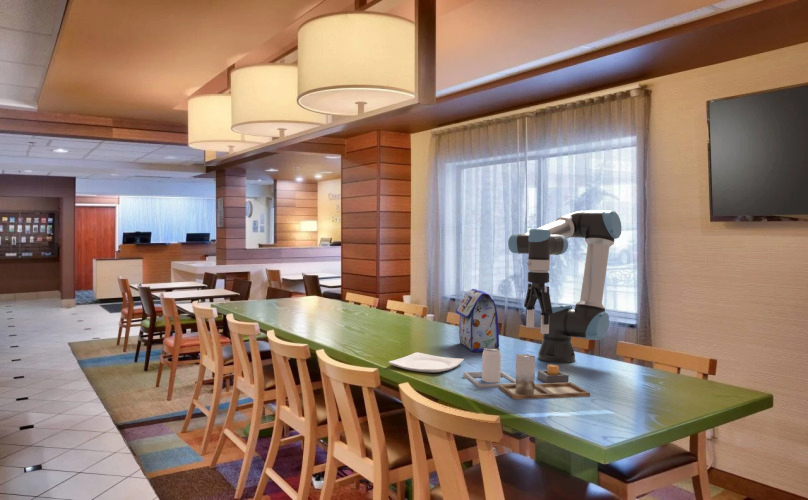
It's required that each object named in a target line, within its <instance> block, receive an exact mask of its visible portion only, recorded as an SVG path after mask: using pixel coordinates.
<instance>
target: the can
mask: <svg viewBox="0 0 808 500" xmlns="http://www.w3.org/2000/svg"><path fill="white" fill-rule="evenodd" d="M500 350H501V349H500V348H499V349H498V348H484V351H482V357H481V359H482V360H481V362H482V363H481V366H482V367H481V368H482V369H481V372H482V377H481V381H482V382H486V383H499V382H500V383H501V376H500V375H501V371H502V370H501V368H502V367H501V364H502V363H501V362H502V354H501V351H500Z"/></svg>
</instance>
